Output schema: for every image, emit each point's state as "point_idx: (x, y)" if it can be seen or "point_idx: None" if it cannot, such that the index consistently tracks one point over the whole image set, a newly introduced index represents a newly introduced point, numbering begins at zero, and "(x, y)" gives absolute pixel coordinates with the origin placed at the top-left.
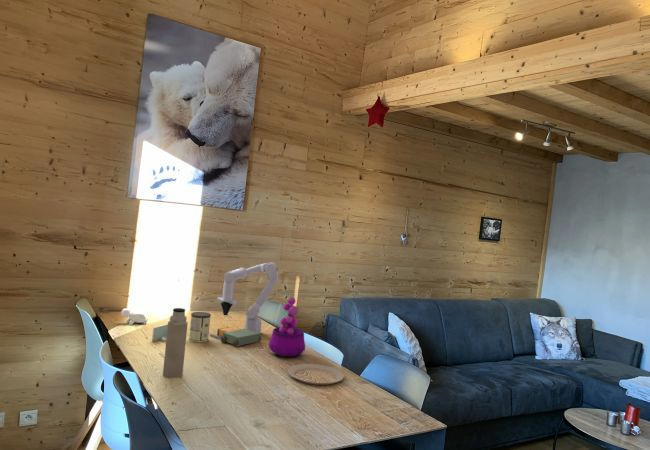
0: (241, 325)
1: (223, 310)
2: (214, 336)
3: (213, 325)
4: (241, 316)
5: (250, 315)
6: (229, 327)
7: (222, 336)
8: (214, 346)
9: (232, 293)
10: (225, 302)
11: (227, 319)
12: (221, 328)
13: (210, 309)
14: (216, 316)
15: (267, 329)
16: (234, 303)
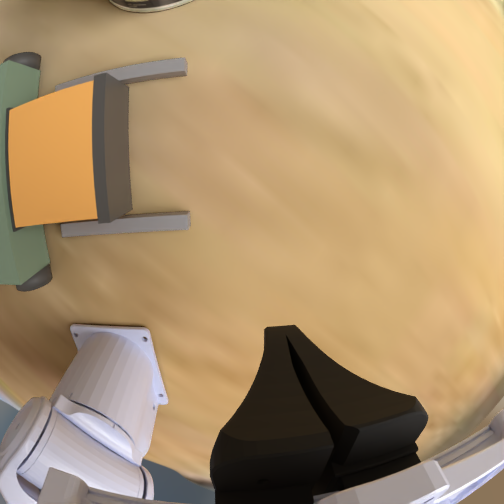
0: None
1: (309, 355)
2: (136, 67)
3: (399, 292)
4: None
5: (24, 416)
6: (92, 212)
7: (16, 55)
8: (28, 6)
9: None
10: (342, 488)
11: None
12: (98, 114)
13: (491, 397)
14: (457, 386)
15: (167, 450)
16: (42, 492)
